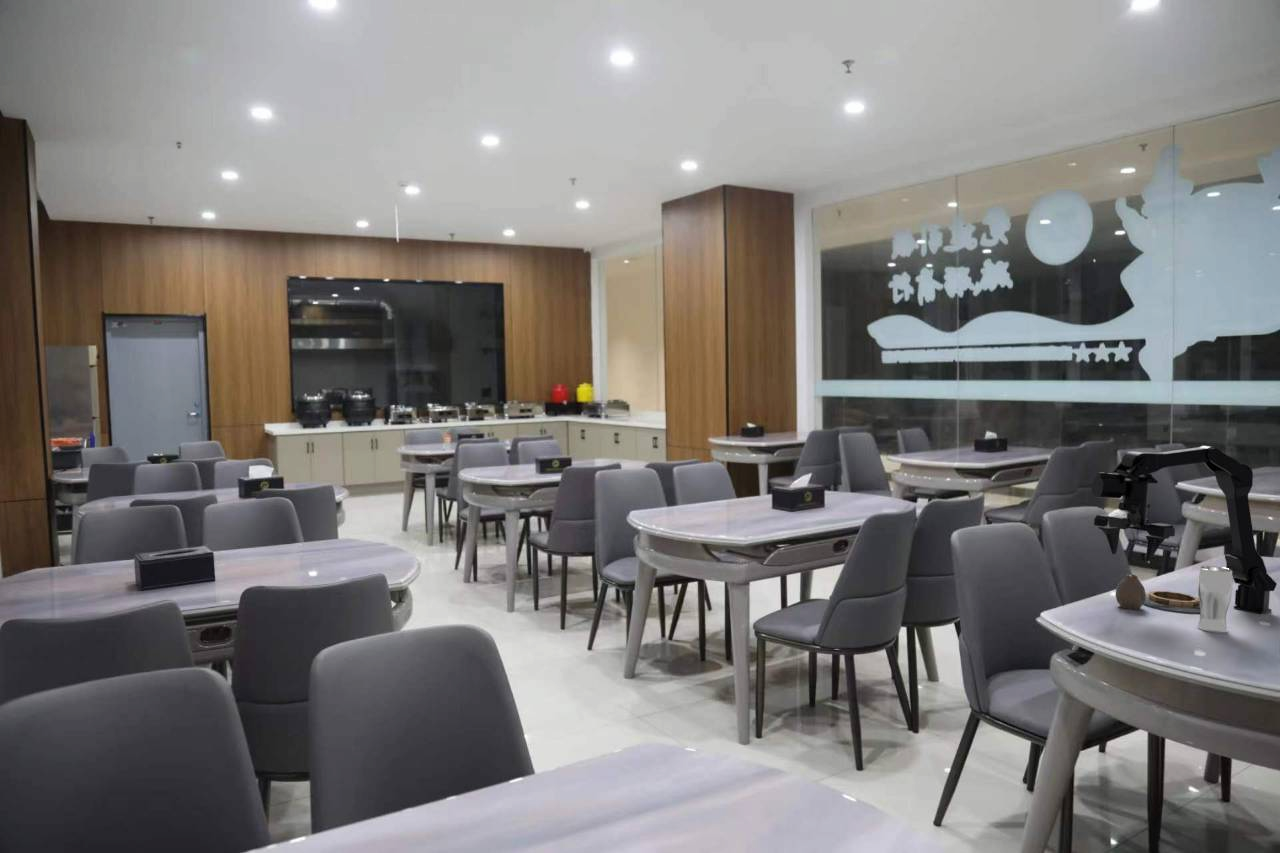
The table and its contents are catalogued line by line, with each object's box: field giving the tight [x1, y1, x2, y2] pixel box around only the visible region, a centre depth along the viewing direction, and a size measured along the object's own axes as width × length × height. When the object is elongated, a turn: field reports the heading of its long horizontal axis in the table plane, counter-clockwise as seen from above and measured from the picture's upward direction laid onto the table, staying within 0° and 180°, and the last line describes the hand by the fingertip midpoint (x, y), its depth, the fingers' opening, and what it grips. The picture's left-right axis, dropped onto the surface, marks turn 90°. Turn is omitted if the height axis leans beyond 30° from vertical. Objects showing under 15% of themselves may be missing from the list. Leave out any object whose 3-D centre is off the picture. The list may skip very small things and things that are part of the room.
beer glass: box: [1197, 565, 1234, 634], centre depth 208 cm, size 7×7×15 cm
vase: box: [1115, 573, 1147, 610], centre depth 227 cm, size 7×7×9 cm
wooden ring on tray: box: [1142, 590, 1200, 614], centre depth 231 cm, size 17×17×2 cm
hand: (1130, 557), depth 227 cm, fingers open, 9 cm apart
